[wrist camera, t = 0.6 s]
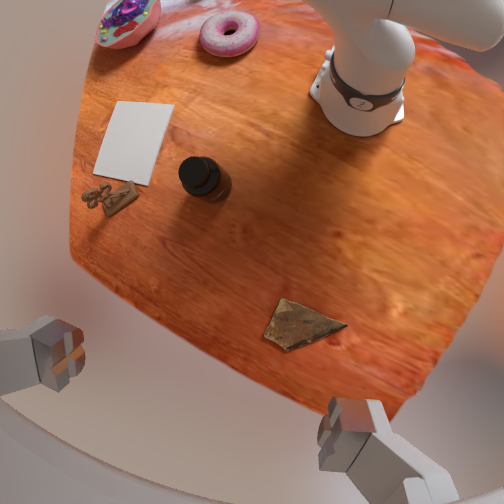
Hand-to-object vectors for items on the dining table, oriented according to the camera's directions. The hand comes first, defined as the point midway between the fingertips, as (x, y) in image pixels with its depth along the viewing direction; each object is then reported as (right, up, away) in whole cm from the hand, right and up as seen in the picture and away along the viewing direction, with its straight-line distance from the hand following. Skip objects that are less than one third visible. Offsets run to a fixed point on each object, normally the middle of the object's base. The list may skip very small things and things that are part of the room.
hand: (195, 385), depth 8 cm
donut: (-3, +51, +46) cm, 69 cm away
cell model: (-27, +61, +50) cm, 84 cm away
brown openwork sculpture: (-26, +15, +51) cm, 59 cm away
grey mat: (-24, +28, +51) cm, 63 cm away
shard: (+11, -8, +46) cm, 48 cm away
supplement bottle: (-5, +16, +48) cm, 51 cm away
